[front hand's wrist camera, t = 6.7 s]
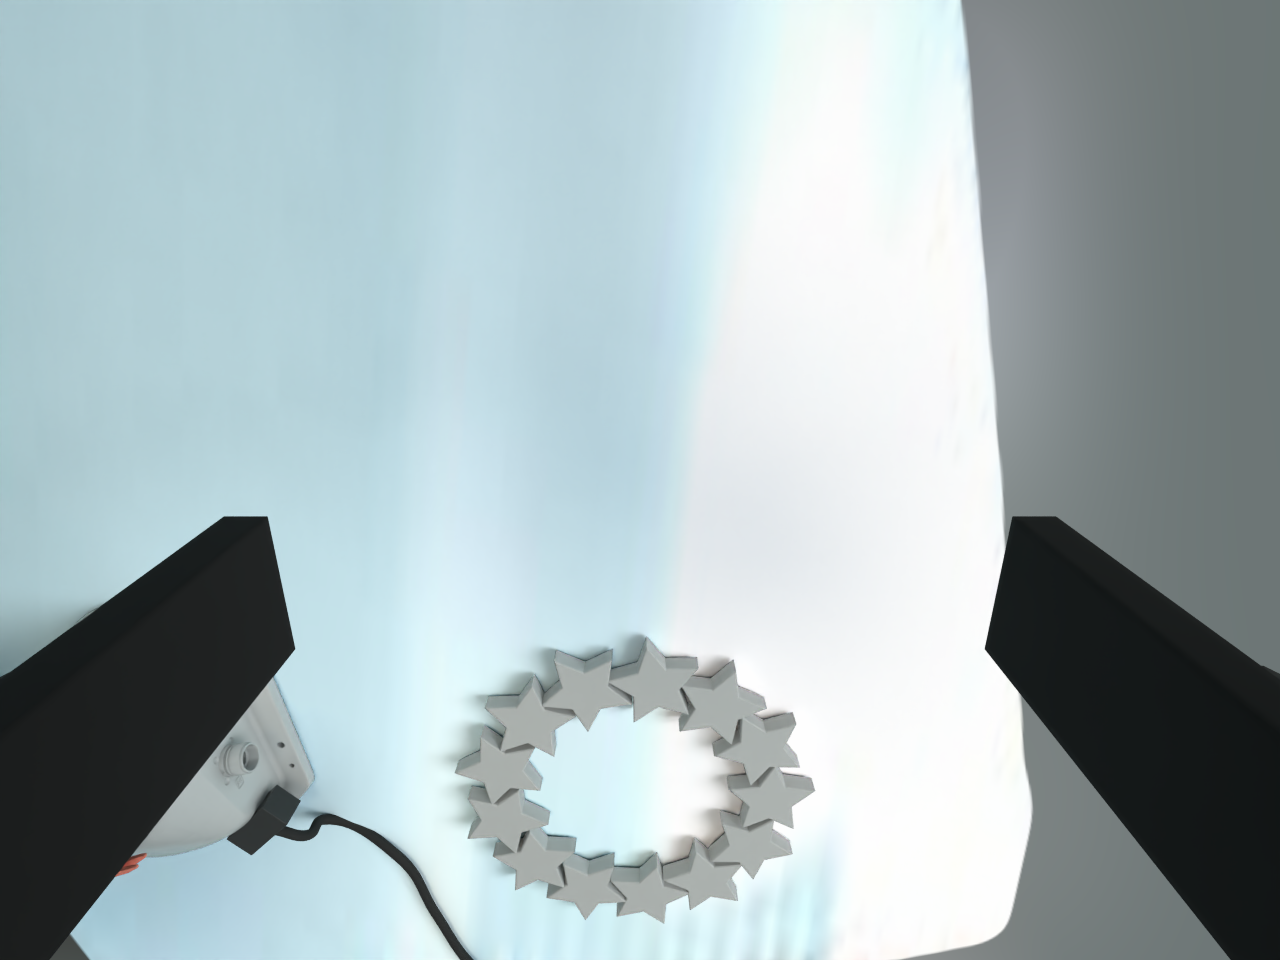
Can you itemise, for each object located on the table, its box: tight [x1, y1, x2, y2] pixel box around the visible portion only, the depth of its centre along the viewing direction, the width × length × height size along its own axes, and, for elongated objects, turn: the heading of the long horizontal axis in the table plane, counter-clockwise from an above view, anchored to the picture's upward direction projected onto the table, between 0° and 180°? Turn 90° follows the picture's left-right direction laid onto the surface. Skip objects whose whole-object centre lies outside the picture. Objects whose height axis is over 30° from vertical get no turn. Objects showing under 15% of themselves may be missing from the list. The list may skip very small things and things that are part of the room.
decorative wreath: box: [455, 636, 815, 923], centre depth 59 cm, size 30×2×30 cm
